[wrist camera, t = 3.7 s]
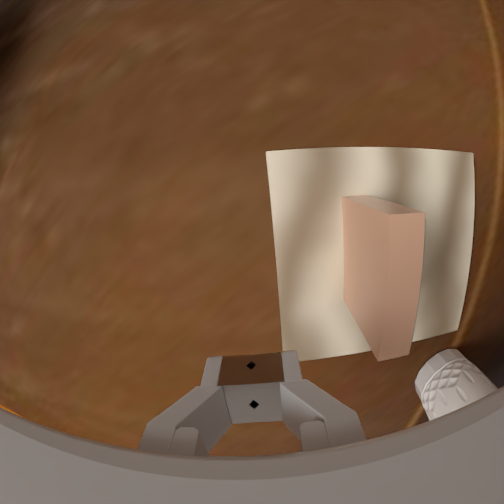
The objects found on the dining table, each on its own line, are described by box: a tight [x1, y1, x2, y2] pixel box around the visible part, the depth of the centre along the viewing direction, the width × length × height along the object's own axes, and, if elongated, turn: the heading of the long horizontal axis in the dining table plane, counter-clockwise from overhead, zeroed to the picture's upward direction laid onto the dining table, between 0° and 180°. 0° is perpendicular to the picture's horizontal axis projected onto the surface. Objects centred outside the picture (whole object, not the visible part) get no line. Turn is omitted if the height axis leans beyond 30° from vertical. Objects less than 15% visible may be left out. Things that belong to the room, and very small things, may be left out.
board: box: [266, 147, 475, 361], centre depth 21 cm, size 18×17×1 cm
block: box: [342, 195, 426, 361], centre depth 16 cm, size 2×8×8 cm, turn 6°
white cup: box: [415, 349, 498, 420], centre depth 20 cm, size 8×8×10 cm
